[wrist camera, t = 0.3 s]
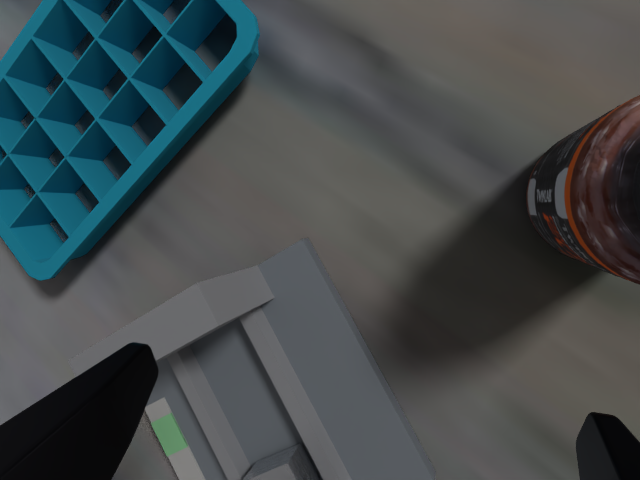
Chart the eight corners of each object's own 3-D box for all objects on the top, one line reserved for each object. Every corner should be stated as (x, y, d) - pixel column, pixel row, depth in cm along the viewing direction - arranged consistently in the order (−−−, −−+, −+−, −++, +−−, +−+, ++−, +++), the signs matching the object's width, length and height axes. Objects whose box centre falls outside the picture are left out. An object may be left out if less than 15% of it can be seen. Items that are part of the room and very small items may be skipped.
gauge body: (435, 471, 23) (429, 578, 16) (228, 547, 27) (155, 659, 20) (308, 237, 24) (253, 248, 17) (127, 343, 28) (26, 385, 21)
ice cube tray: (-14, 155, 31) (-62, 149, 28) (164, -87, 26) (128, -124, 23) (79, 282, 29) (39, 290, 26) (289, 52, 24) (268, 31, 21)
